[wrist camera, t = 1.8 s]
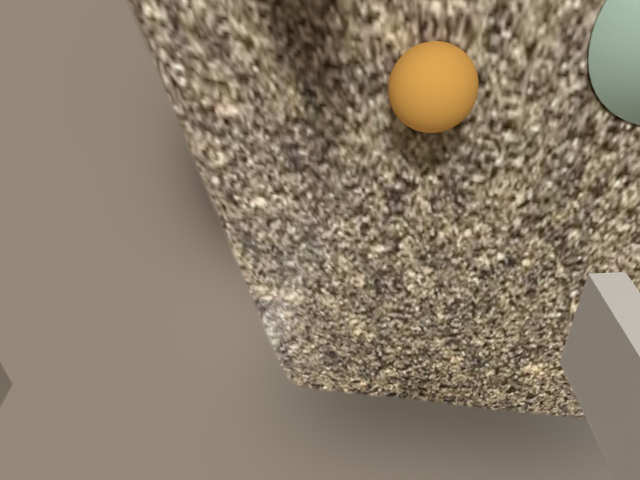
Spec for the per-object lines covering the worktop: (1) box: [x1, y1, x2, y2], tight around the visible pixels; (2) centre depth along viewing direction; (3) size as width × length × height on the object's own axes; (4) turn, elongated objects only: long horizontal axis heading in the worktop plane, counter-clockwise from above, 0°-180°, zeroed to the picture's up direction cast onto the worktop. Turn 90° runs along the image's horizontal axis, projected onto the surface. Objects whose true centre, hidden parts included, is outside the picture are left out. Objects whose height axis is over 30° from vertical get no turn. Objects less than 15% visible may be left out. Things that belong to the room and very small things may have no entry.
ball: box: [388, 41, 478, 133], centre depth 35 cm, size 6×6×6 cm
